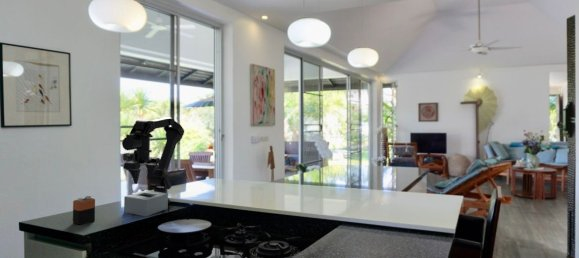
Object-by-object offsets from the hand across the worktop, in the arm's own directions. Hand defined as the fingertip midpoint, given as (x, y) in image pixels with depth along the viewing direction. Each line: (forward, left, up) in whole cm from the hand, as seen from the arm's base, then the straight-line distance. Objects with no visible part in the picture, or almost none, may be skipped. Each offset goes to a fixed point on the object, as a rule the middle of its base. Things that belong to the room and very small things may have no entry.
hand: (142, 181), depth 177 cm
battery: (+28, -4, -12) cm, 31 cm away
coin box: (+3, +5, -12) cm, 13 cm away
